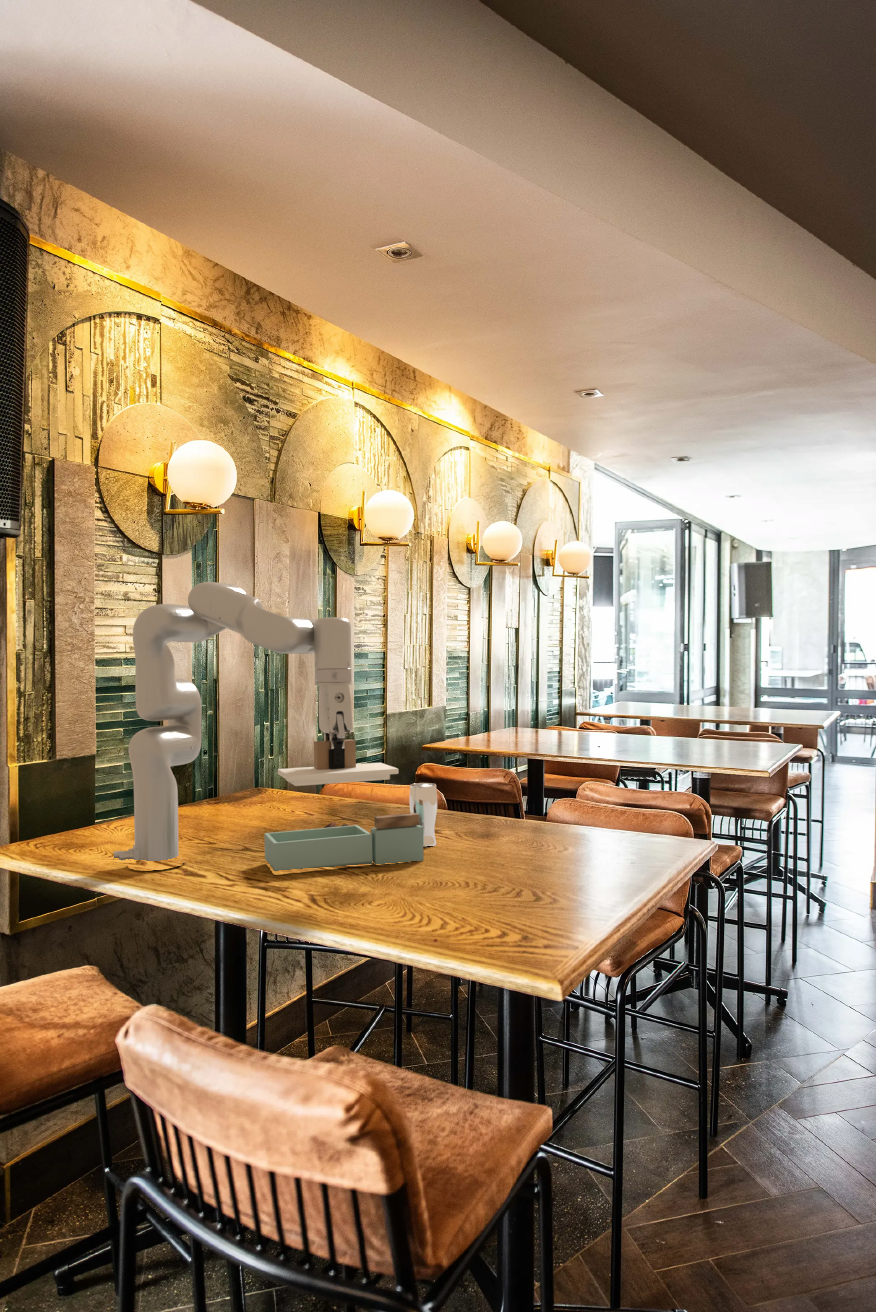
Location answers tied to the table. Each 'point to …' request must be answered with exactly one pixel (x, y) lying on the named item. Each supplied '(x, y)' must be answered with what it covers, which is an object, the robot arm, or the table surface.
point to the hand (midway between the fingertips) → (334, 766)
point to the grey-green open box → (343, 847)
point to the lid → (329, 776)
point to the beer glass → (425, 809)
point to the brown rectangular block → (396, 820)
